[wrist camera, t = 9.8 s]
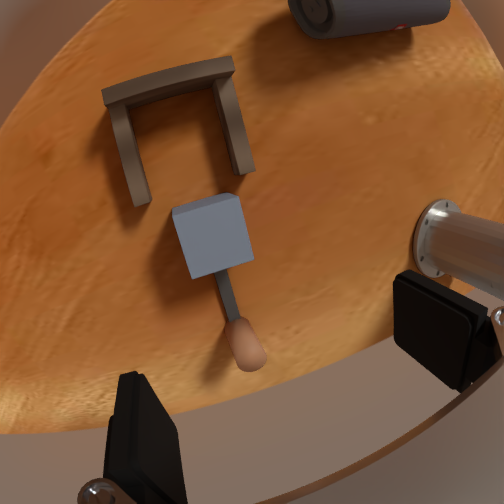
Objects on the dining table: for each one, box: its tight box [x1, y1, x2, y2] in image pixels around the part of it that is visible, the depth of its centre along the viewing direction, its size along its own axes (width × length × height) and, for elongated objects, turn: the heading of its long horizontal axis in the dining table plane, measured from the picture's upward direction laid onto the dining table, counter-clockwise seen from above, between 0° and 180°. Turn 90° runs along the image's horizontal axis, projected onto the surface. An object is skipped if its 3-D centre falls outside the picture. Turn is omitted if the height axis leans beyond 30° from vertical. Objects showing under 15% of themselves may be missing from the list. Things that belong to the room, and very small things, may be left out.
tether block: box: [172, 192, 267, 372], centre depth 31 cm, size 18×6×7 cm, turn 14°
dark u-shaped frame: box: [101, 56, 256, 207], centre depth 27 cm, size 12×12×5 cm
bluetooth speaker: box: [288, 0, 451, 39], centre depth 25 cm, size 23×9×10 cm, turn 117°
